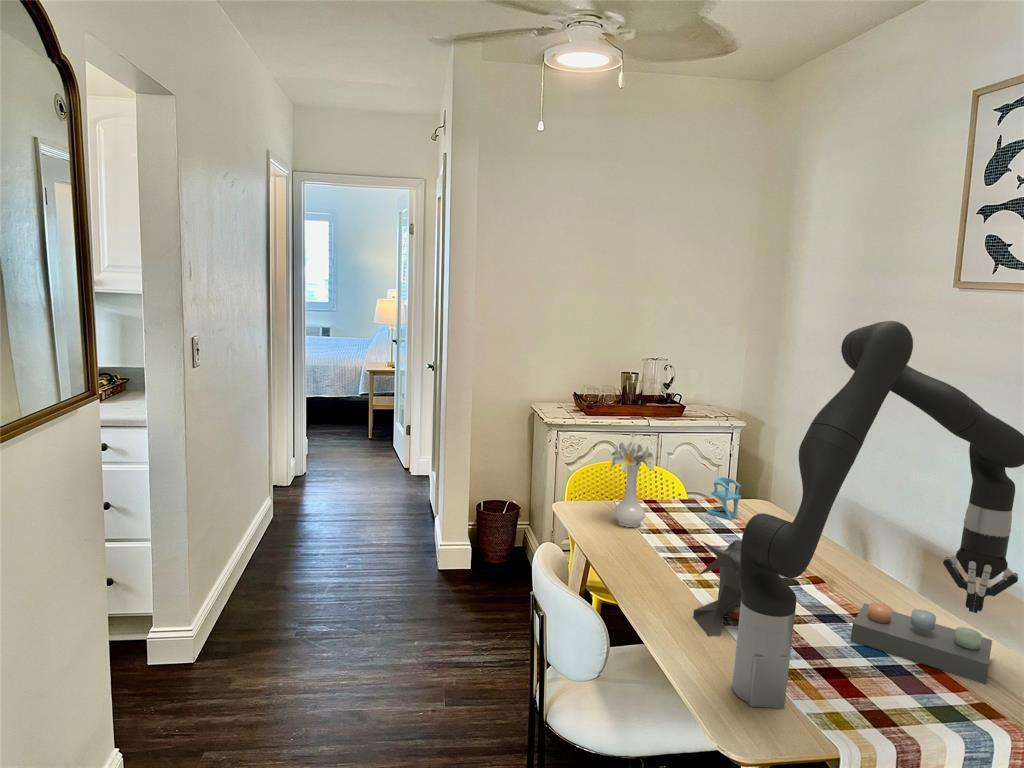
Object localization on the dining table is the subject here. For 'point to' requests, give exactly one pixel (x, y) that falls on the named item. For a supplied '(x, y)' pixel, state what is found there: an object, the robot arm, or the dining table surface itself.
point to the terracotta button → (879, 612)
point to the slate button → (923, 619)
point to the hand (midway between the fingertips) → (973, 610)
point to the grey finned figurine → (722, 590)
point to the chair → (725, 498)
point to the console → (922, 644)
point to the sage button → (967, 638)
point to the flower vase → (631, 482)
